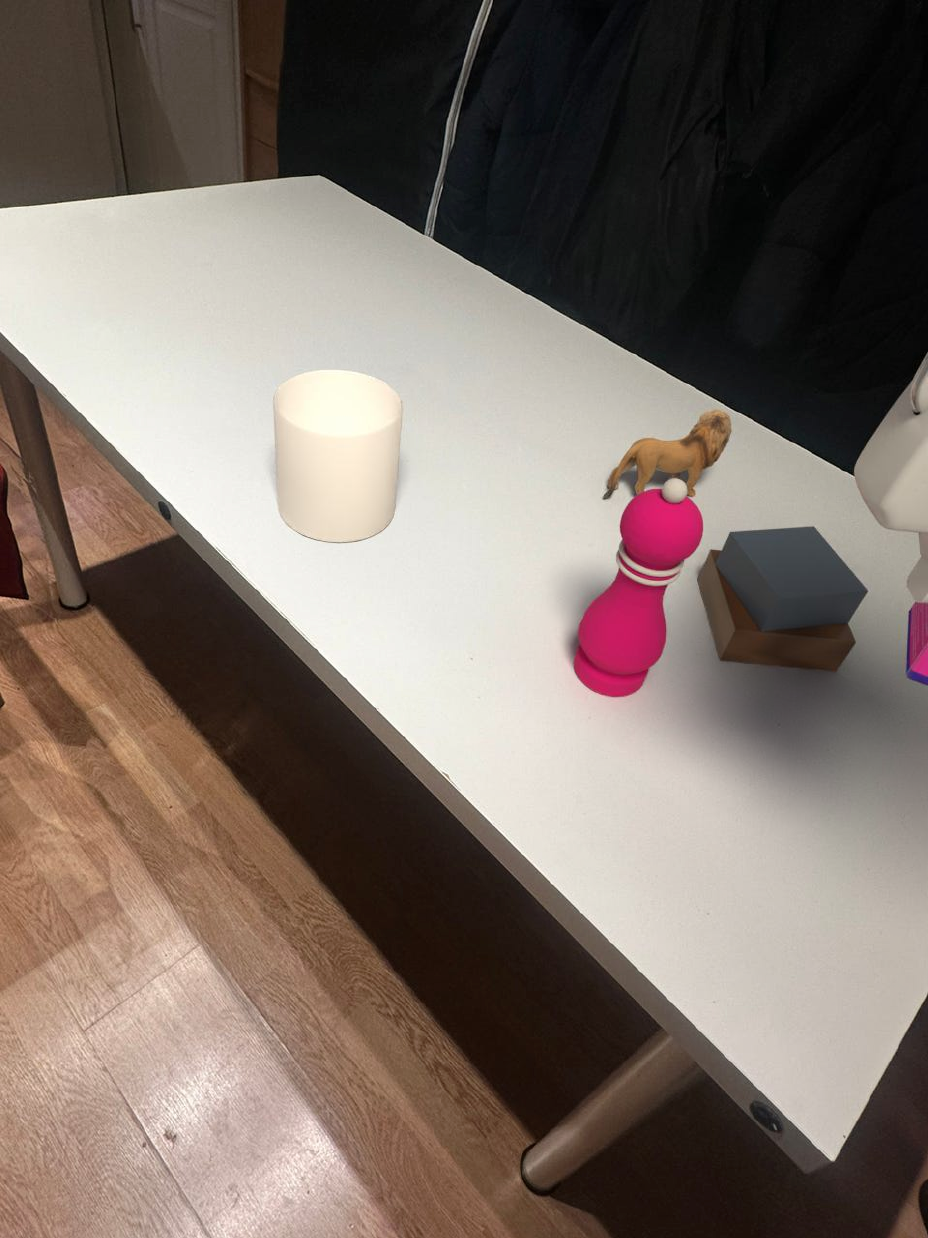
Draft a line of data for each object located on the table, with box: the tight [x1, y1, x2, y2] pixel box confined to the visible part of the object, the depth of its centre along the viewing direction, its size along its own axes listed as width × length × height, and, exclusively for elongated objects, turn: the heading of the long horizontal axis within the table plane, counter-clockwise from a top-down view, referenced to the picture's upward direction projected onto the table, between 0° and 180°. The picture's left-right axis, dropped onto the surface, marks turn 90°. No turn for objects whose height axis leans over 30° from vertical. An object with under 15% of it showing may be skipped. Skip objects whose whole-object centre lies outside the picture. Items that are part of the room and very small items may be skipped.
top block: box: [716, 525, 869, 632], centre depth 74 cm, size 9×9×4 cm
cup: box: [272, 369, 404, 543], centre depth 79 cm, size 12×12×12 cm
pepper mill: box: [573, 478, 704, 698], centre depth 65 cm, size 7×7×20 cm
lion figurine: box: [603, 408, 733, 499], centre depth 89 cm, size 15×5×9 cm, turn 117°
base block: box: [696, 549, 857, 673], centre depth 77 cm, size 11×11×4 cm
